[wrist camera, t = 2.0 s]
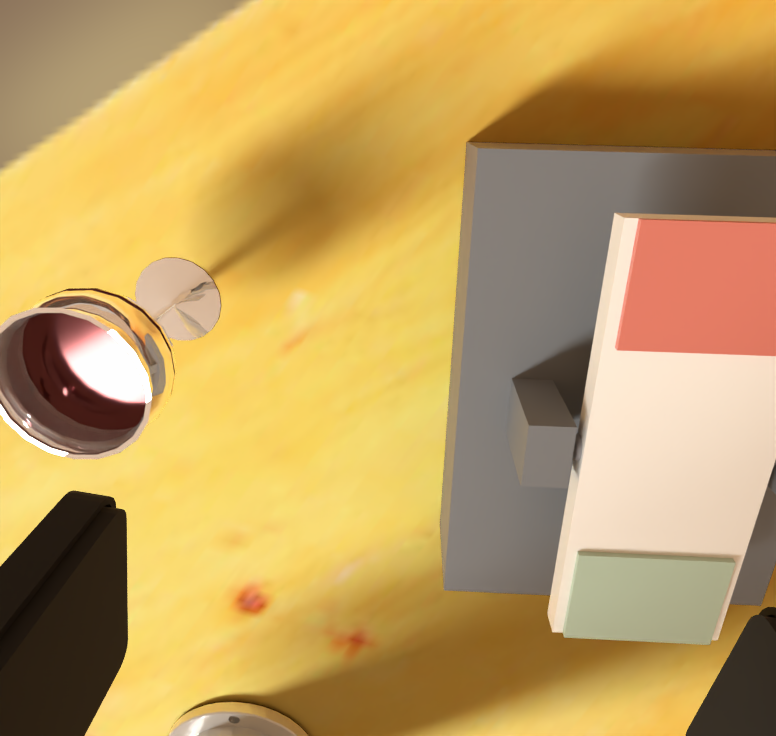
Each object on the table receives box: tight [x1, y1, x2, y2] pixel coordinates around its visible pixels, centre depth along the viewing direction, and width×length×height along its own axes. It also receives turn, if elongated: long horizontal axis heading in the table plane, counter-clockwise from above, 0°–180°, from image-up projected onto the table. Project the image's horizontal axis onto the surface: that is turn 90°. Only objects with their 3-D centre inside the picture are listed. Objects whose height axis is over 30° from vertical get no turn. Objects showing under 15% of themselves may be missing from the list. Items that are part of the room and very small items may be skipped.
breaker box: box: [440, 142, 776, 606], centre depth 30 cm, size 24×27×11 cm
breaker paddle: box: [547, 213, 776, 645], centre depth 26 cm, size 20×8×2 cm, turn 179°
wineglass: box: [0, 258, 221, 459], centre depth 29 cm, size 7×7×12 cm
